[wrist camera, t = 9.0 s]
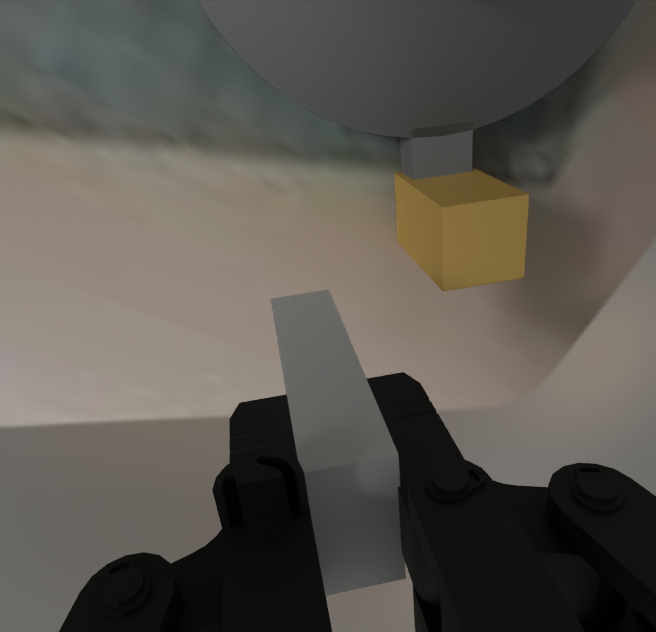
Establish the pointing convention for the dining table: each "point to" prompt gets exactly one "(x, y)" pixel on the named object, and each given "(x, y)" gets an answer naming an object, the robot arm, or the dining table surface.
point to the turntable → (427, 99)
